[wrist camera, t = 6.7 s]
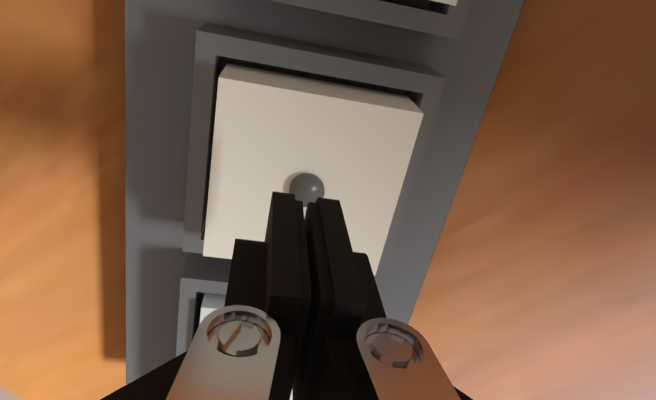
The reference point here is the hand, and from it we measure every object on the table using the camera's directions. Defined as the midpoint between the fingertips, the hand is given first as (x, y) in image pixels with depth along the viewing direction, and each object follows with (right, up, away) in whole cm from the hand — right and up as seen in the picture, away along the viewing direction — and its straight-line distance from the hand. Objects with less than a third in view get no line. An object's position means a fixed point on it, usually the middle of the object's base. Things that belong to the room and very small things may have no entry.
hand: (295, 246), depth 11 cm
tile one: (0, +2, +5) cm, 5 cm away
